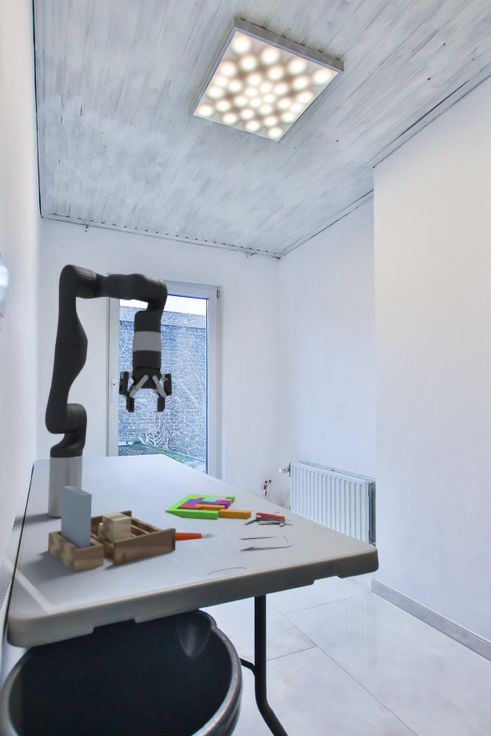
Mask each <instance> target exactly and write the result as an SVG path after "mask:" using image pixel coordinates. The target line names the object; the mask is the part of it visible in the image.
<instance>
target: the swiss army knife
mask: <svg viewBox="0 0 491 736" xmlns="http://www.w3.org/2000/svg"><path fill="white" fill-rule="evenodd" d="M278 513H280V511H273V512H265V513H264V512H260V511H259V512H256V513H255V515H254V516H251V518H249V519H244V522H245V523H247V522H250V521H252V520H255V521H258V523H271V524H277V525H279V526H281V527H282V526H284V525H285V524H286V521H288V522H293V520H292V519H291V518H290V519H289V518H286V516H284V515H277V514H278Z"/></svg>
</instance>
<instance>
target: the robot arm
mask: <svg viewBox="0 0 491 736" xmlns="http://www.w3.org/2000/svg"><path fill="white" fill-rule="evenodd" d="M59 274H60V275H59V278H58V317H57V329H56V337H55V344H54V352H53V353H54V354H53V355H54V356H53V365H52V366H53V368H52V375H51V383H50V388H49V393H48V398H47V403H46V408H45V416H44V418H45V419H44V422H45V423H44V424H45V428H46V430H47V432H48V433H49V434H52V435H63V434H64V435H63V438H62V439H61V440H60V441H59V442H58V443H56V444H54V445H53V446H51V447H50V449H49V450H50V451H49V470H48V471H49V477H48V499H47V505H48V506H47V516H48V517H51V518H62V488H63V487H64V486H73V487H75V488H78V489H80V490H82V489H83V488H82V487H83V485H82V484H83V451H84V449H85V446H86V441H87V440H86V439H87V427H88V414H87V410H86V408H85V407H84V405H82V404H81V403H77V402H75V403H72V402H71V403H70V402H69V401H68V400H69V396H70V395H69V394H70V391H71V388H72V385H73V384H74V382H75V381H76V379H77V377H78V376H79V374H81V372H82V370H83V368H84V367H85V365H86V361H87V355H88V348H89V347H88V345H89V343H88V342H89V341H88V340H89V339H88V336H87V333H86V331H85V329H84V327H83V324H82V323H81V320H80V318H79V315H78V312H77V298H79V299H84V300H89V299H90V300H91V299H99V298H111V299H114V300H123V301H124V300H125V301H132V300H133V301H139V302H143V303H147V305H146V309H143V310H138V311H136V312H135V314H134V317H133V338H132V348H131V349H132V352H131V353H132V355H131V356H132V357H131V358H132V359H131V360H132V361H131V367H132V370H131V372H130V371H128V370H125V371H124V370H123V371H121V372H120V374H119V383H118V384H119V385H118V386H119V387H118V394H119V395H120V396H123V397H125V409H126V411H127V412H128V413H130V414H131V413H135V397H134V396H135V395H136V394H137V392H139V390H140V389H141V390H144V389H145V390H152V391H153V392H154V393H155V394H156V396H157V398H156V399H157V400H156V411H157V413H158V412H159V413H163V412H164V411H165V409H166V398H167V397H169V396H171V395H173V385H172V384H173V381H172V373H169V372H168V373H162V372H161V369H162V353H163V352H162V350H163V348H162V347H163V346H162V343H163V342H162V341H163V340H162V317H163V315H164V314H163V313H164V310H165V307H166V304H167V299H168V296H169V292H168V291H169V290H168V286H167V284H166V282H164V280H162V279H161V278H157V277H154V276H150V275H148V274H145V273H144V274H143V273H137V272H136V273H130V274H121V273H114V274H113V273H112V274H110V275H109V274H108V276H105V275H102V274H100V273H97V272H96V271H93V270H91V269H87V268H84V267H81V266H77V265H75V264H65V265H64V267H63V268H62V269H61V272H60V273H59ZM130 379H132V381H133V382H132V384H131V385H130V386H129V381H130ZM160 381H162V384H161V382H160Z"/></svg>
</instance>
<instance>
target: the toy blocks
mask: <svg viewBox="0 0 491 736" xmlns="http://www.w3.org/2000/svg"><path fill="white" fill-rule="evenodd" d="M234 501H236V496H235V495H218V494H216V495H215V494H196V493H195V494H193V493H190V494H188V495H187V496H185V497H183V498H182V499H181V500H179V501H178V502H176V503H174V504H173V505H171V506H169V507H168V508H167V509H165V513H166V514H170V515H174V516H175V517H179V518H188V519H205V520H206V519H207V520H218V519H219V518H223V519H224V518H228V519H244V520H247V519H249V518H251V517H252V510H246V509H245V510H241V509H229V507H231V506H232V505H233V503H232V502H234ZM234 503H235V502H234ZM231 504H232V505H231ZM230 505H231V506H230ZM226 509H227V510H226Z"/></svg>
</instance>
